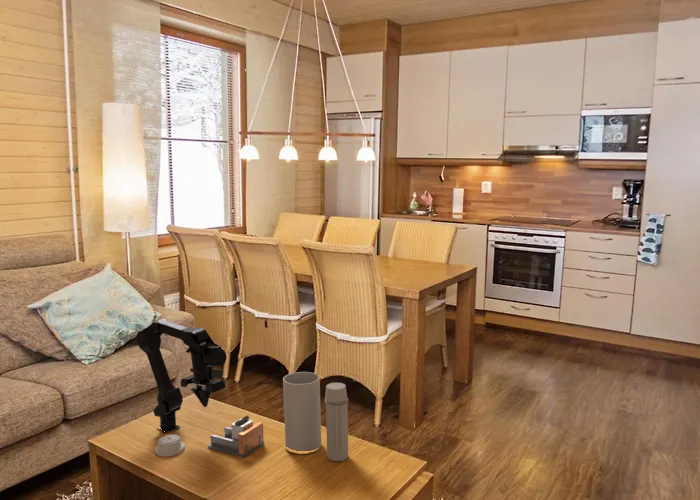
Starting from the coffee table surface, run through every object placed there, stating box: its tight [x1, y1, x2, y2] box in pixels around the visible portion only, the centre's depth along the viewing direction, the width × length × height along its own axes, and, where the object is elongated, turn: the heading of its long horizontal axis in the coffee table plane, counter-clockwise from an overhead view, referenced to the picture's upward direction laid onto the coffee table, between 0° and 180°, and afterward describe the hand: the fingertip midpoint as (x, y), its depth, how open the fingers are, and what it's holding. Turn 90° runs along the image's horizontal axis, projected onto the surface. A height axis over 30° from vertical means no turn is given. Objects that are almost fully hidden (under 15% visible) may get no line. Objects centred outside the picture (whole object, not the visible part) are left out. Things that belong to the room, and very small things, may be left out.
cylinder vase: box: [282, 371, 322, 451], centre depth 194 cm, size 12×12×25 cm
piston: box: [230, 415, 254, 441], centre depth 195 cm, size 5×6×9 cm
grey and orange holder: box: [207, 421, 265, 459], centre depth 197 cm, size 16×11×8 cm
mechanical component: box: [154, 434, 186, 457], centre depth 196 cm, size 10×4×10 cm
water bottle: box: [324, 382, 349, 463], centre depth 185 cm, size 9×8×25 cm
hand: (205, 406), depth 203 cm, fingers closed
